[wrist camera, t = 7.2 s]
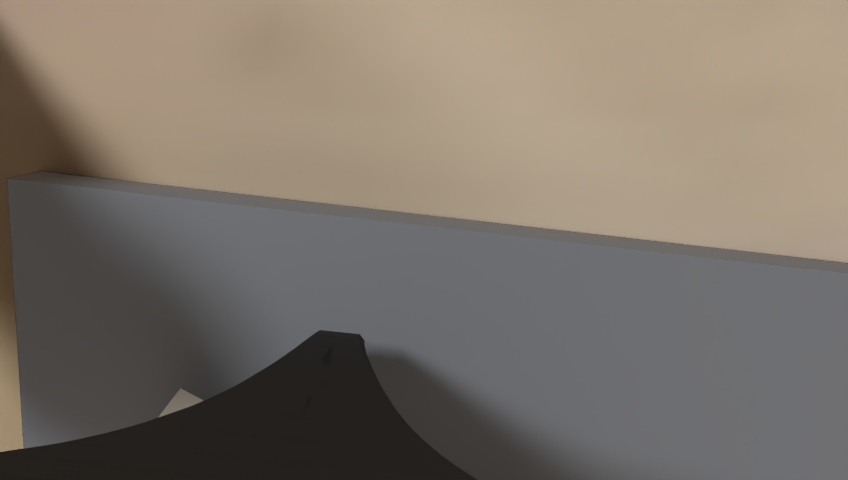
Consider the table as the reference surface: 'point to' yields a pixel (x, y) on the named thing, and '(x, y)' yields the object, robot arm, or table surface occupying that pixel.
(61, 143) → the table surface
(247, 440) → the robot arm
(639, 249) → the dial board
